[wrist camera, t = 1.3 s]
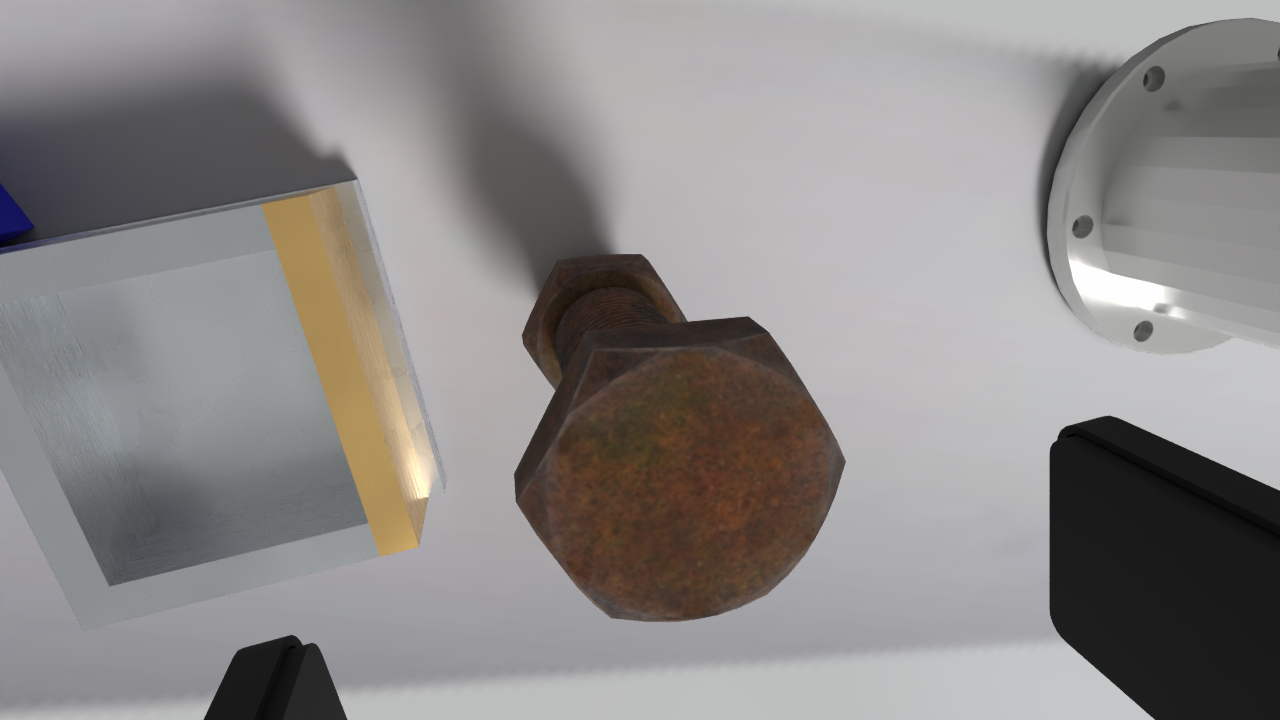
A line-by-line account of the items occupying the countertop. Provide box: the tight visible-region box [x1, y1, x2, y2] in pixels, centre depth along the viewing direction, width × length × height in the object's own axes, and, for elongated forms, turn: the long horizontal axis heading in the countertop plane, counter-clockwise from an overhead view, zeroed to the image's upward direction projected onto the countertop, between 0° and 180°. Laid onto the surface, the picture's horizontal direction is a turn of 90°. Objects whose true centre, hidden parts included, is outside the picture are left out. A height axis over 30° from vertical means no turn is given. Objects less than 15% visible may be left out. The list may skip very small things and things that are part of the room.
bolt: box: [514, 254, 846, 622], centre depth 19 cm, size 6×5×15 cm
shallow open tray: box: [0, 179, 446, 631], centre depth 23 cm, size 11×11×4 cm
